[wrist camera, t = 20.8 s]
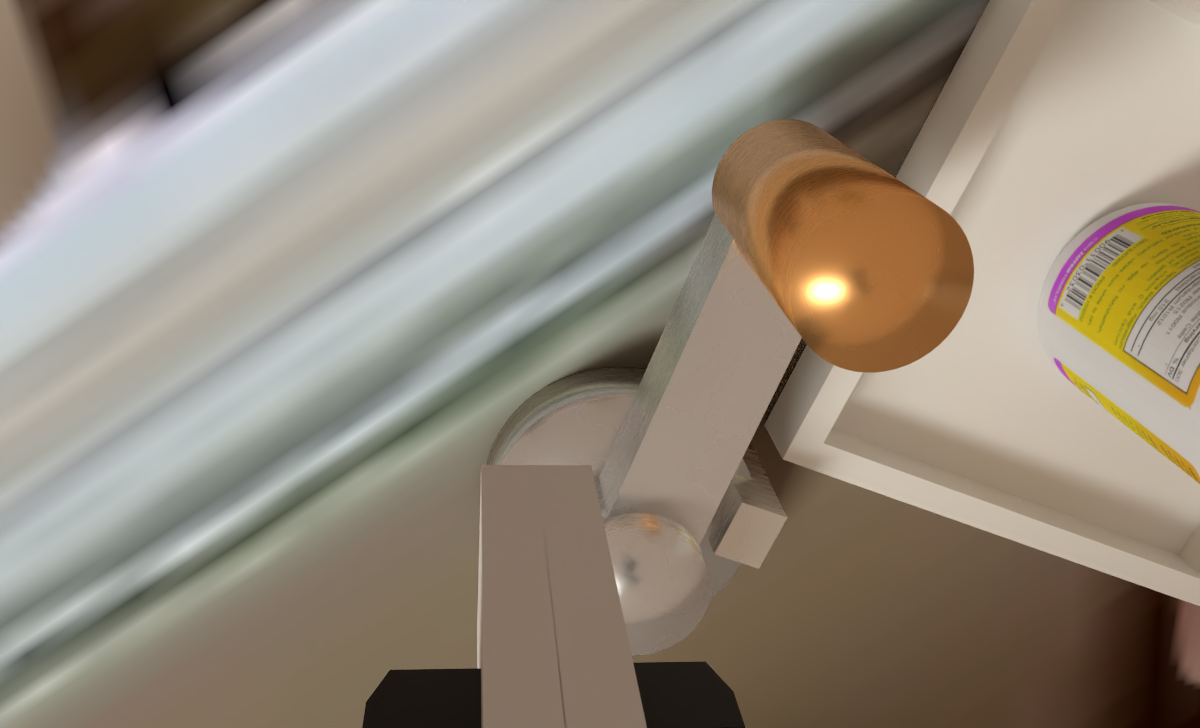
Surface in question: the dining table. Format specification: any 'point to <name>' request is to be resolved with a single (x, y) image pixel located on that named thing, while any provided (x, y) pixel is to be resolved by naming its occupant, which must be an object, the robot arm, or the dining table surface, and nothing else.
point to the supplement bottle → (1133, 323)
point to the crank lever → (765, 343)
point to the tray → (1029, 295)
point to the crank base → (585, 437)
